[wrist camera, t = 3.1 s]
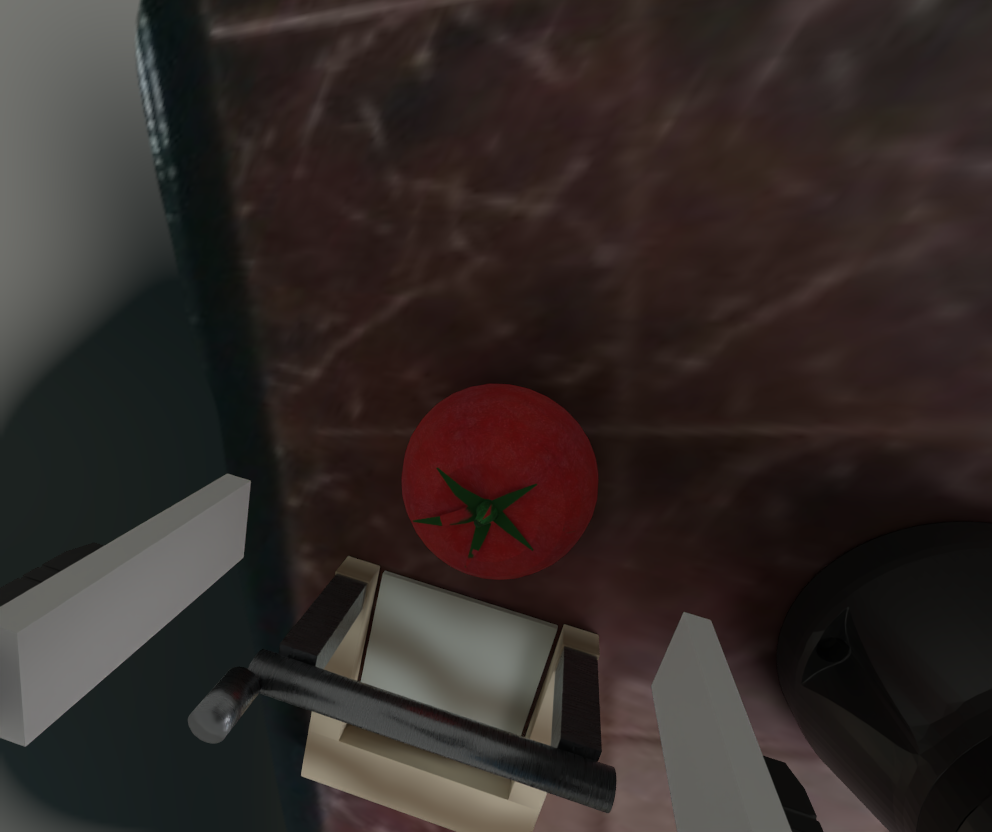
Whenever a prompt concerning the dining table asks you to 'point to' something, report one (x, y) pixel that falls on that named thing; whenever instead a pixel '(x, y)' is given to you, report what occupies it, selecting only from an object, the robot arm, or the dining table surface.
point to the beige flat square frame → (440, 700)
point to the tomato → (499, 481)
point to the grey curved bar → (419, 707)
